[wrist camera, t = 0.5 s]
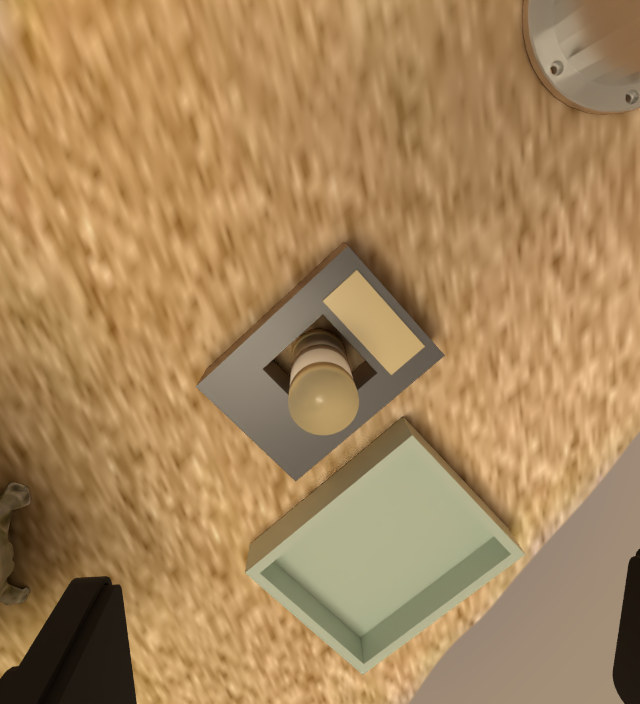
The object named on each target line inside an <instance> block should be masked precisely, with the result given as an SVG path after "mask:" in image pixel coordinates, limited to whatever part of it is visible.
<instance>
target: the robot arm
mask: <svg viewBox="0 0 640 704" xmlns="http://www.w3.org/2000/svg"><path fill="white" fill-rule="evenodd" d="M523 34H524V40H525V45H526V50H527V53H528V56H529V58H530V61H531V64H532V66H533V69H534V70H535V72H536V74H537V75H538V77H539V78H540V80H541V82H542V83H543V85H544V86H545V87H546V88H547V89H548V90H549V91H550V92H551V93H552V94H553V95H554V96H555V97H556V98H558V99H559V100H561V101H562V102H564V103H565V104H567V105H568V106H570V107H573V108H576V109H578V110H581V111H584V112H587V113H594V114H602V115H605V114H618V113H623V112H627V111H631V110H634V109H638V108H640V0H524V5H523ZM550 68H552V69H553V71H554V72H553V74H552V73H551V71H550ZM625 98H627V102H626V99H625ZM613 681H614V685H615V688H616V690H617V692H618V694H619V696H620V698H621V699H622V701H623V702H624V703H625V704H640V549H639V550H638V551H637V553H636V556H634V557H632V558H631V559H630V561H629V565H628V572H627V579H626V585H625V592H624V600H623V606H622V612H621V619H620V626H619V633H618V639H617V646H616V653H615V660H614V667H613ZM0 704H137V702H136V694H135V687H134V679H133V671H132V664H131V656H130V648H129V640H128V633H127V625H126V617H125V610H124V602H123V594H122V589H121V586H120V585H112V582H111V579H110V578H109V577H107V576H103V577H85V578H75V579H73V580H72V581H71V583H70V584H69V586H68V587H67V589H66V590H65V592H64V594H63V595H62V597H61V598H60V600H59V602H58V603H57V605H56V607H55V608H54V610H53V611H52V613H51V615H50V616H49V618H48V620H47V621H46V623H45V624H44V626H43V628H42V629H41V631H40V632H39V634H38V636H37V637H36V639H35V641H34V642H33V644H32V645H31V647H30V649H29V650H28V652H27V654H26V655H25V657H24V658H23V660H22V662H21V663H20V665H19V666H16V667H12V668H10V669H9V670H7V671H6V672H5V673H4V675H3V676H2V677H1V679H0Z"/></svg>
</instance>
